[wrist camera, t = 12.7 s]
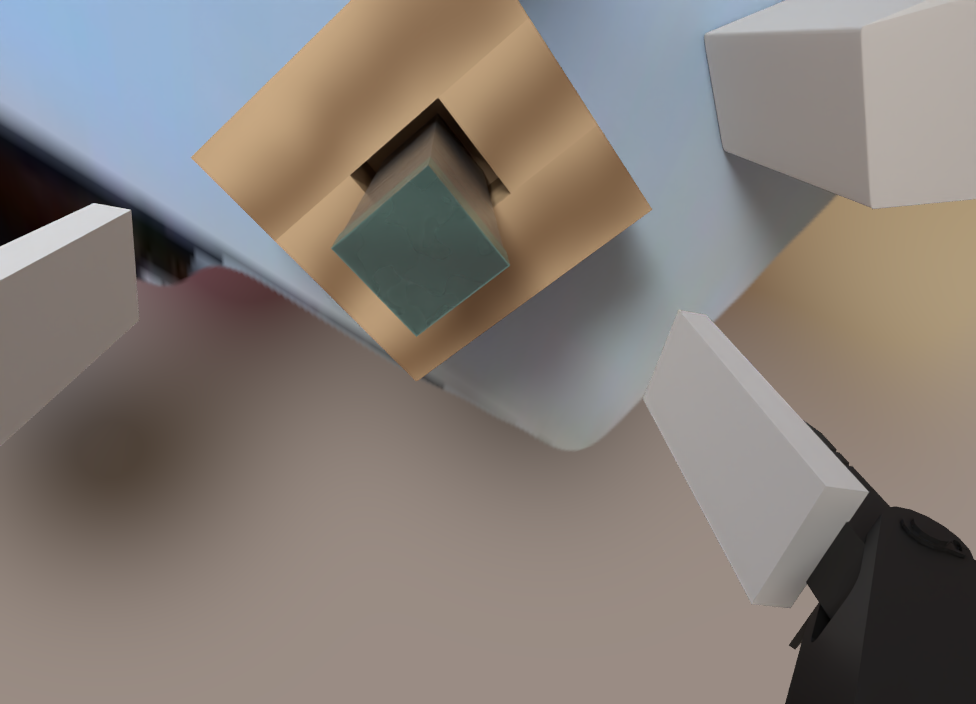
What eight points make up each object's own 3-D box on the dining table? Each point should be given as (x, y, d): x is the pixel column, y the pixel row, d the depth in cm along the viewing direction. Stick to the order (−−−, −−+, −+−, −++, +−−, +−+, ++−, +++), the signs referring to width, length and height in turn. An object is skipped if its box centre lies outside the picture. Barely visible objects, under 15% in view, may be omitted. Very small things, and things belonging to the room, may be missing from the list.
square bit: (382, 160, 33) (330, 248, 18) (438, 111, 32) (428, 165, 17) (430, 216, 34) (416, 336, 20) (484, 171, 33) (510, 265, 19)
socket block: (249, 131, 35) (191, 157, 27) (452, -64, 31) (453, -100, 23) (422, 317, 42) (416, 381, 34) (609, 174, 38) (652, 209, 30)
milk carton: (722, 151, 37) (942, 237, 21) (701, 33, 34) (944, 23, 17) (832, 108, 37) (1156, 162, 20) (822, -17, 33) (1199, -78, 17)
